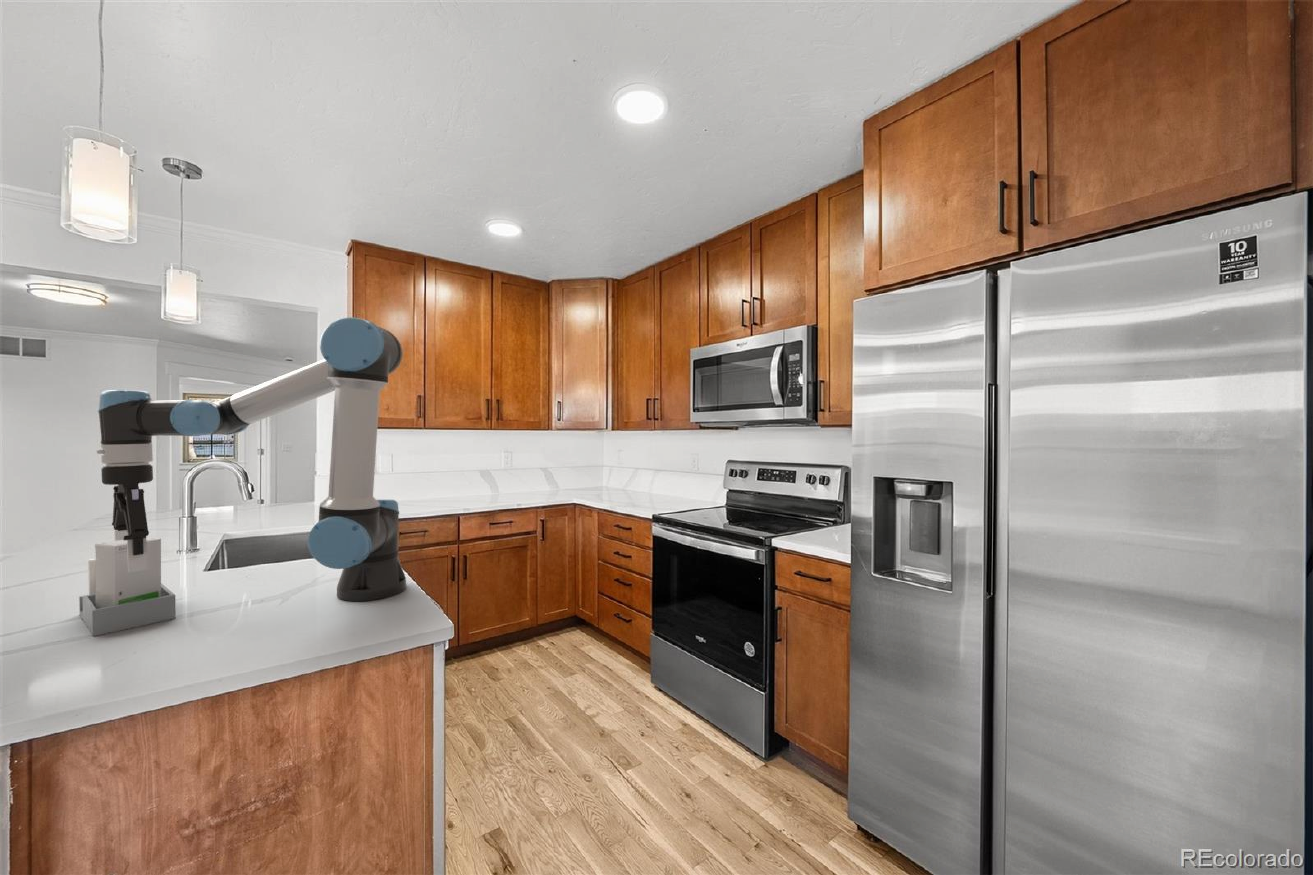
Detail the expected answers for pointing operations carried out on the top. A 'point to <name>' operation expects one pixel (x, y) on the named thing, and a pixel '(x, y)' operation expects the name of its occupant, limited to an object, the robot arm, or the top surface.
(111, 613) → the grey open box
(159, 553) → the skincare box
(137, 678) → the top surface
